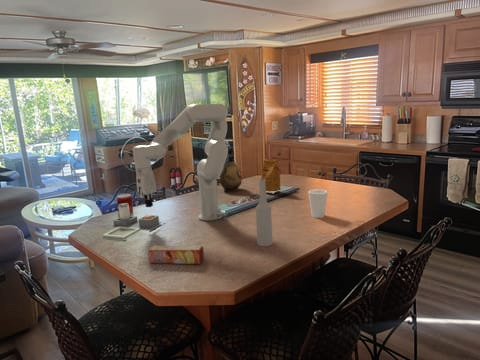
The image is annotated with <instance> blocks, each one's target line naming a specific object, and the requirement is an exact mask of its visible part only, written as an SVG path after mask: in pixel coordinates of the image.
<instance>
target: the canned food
mask: <svg viewBox="0 0 480 360" xmlns="http://www.w3.org/2000/svg"><path fill="white" fill-rule="evenodd" d="M132 198H133V197H132V194H131V193H122V194H119V195H117V196H116V200H117V201H116V202H117V209H118V211H119V206H118V205H119V204H122V203H128V204H129V212H130V213H132V212H134V208H133V207H134V206H133V199H132Z"/></svg>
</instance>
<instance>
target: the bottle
mask: <svg viewBox="0 0 480 360" xmlns="http://www.w3.org/2000/svg"><path fill="white" fill-rule="evenodd" d="M258 181H259V202H258V203H257V205H256V206H255V221H256V222H255V223H256V243H257V246H259V247H270V246H272V245H273V226H272V225H273V222H272V206H271V205H270V204H269V203H268V200H267V194H266V187H265V181H266V180H265V179H261V178H260V179H258Z"/></svg>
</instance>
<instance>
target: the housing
mask: <svg viewBox="0 0 480 360" xmlns="http://www.w3.org/2000/svg"><path fill="white" fill-rule="evenodd" d="M151 215H152V216H153V218H152V219H145V218H144V216H141V217H140V218H138V216H134V215H130V219H129V220H127V221H122V220H120V217H117V218H115V219H113V220H112V221H113V222H112V223H113V225H112V227H120V226H122V227H133V228H140V229H147V230H150V231H149V233H152V232H153V231H155V230H156V229H158V228H159V227H161V226H162V225H163V224H162V222H161V221H160V219H159V217H160V216H159V215H153V214H151Z"/></svg>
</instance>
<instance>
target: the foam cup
mask: <svg viewBox="0 0 480 360" xmlns="http://www.w3.org/2000/svg"><path fill="white" fill-rule="evenodd" d="M308 198H309V205H310V211H311V217H312V218H317V219H320V218H321V219H322V218H324V217H325V214H326V207H327V206H326V205H327V198H328V191H327V190H325V189H317V188H316V189H311V190H308Z"/></svg>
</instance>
